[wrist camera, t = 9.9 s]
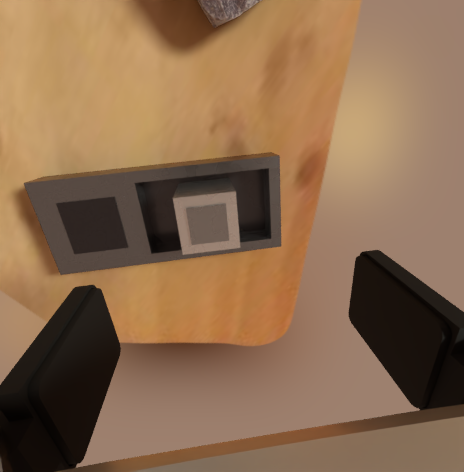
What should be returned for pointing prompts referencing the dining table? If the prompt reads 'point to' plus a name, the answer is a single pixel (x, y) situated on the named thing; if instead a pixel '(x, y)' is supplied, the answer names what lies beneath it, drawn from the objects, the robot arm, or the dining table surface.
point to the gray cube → (207, 216)
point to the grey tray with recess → (149, 211)
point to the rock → (224, 9)
